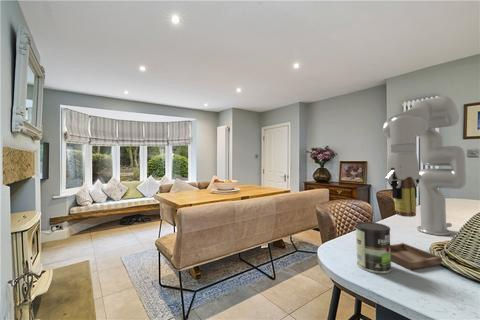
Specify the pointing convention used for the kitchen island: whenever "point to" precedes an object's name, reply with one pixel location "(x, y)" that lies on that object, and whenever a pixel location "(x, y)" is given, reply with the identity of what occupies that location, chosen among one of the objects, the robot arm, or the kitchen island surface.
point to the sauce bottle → (406, 199)
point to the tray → (413, 257)
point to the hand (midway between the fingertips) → (404, 197)
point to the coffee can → (373, 247)
